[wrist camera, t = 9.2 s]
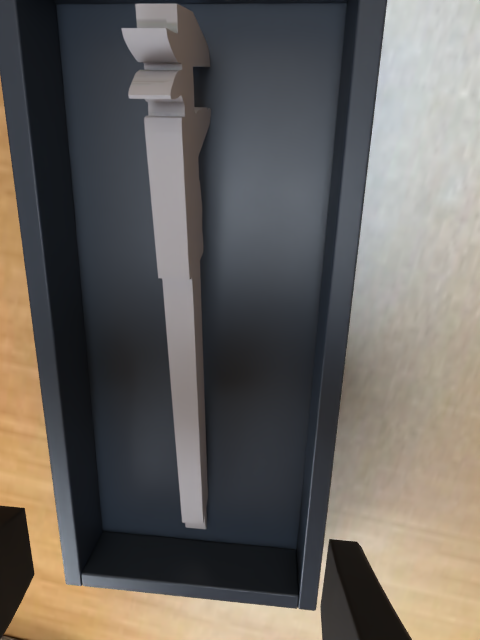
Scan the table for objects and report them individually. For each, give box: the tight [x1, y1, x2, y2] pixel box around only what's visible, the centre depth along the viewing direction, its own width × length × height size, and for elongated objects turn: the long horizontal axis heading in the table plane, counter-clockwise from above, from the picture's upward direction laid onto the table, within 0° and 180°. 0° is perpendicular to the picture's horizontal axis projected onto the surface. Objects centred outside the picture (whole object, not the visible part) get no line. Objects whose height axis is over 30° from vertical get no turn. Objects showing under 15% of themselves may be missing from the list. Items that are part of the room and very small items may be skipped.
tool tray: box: [0, 0, 387, 611], centre depth 16 cm, size 12×25×3 cm, turn 178°
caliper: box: [121, 4, 211, 529], centre depth 14 cm, size 20×1×6 cm, turn 178°
